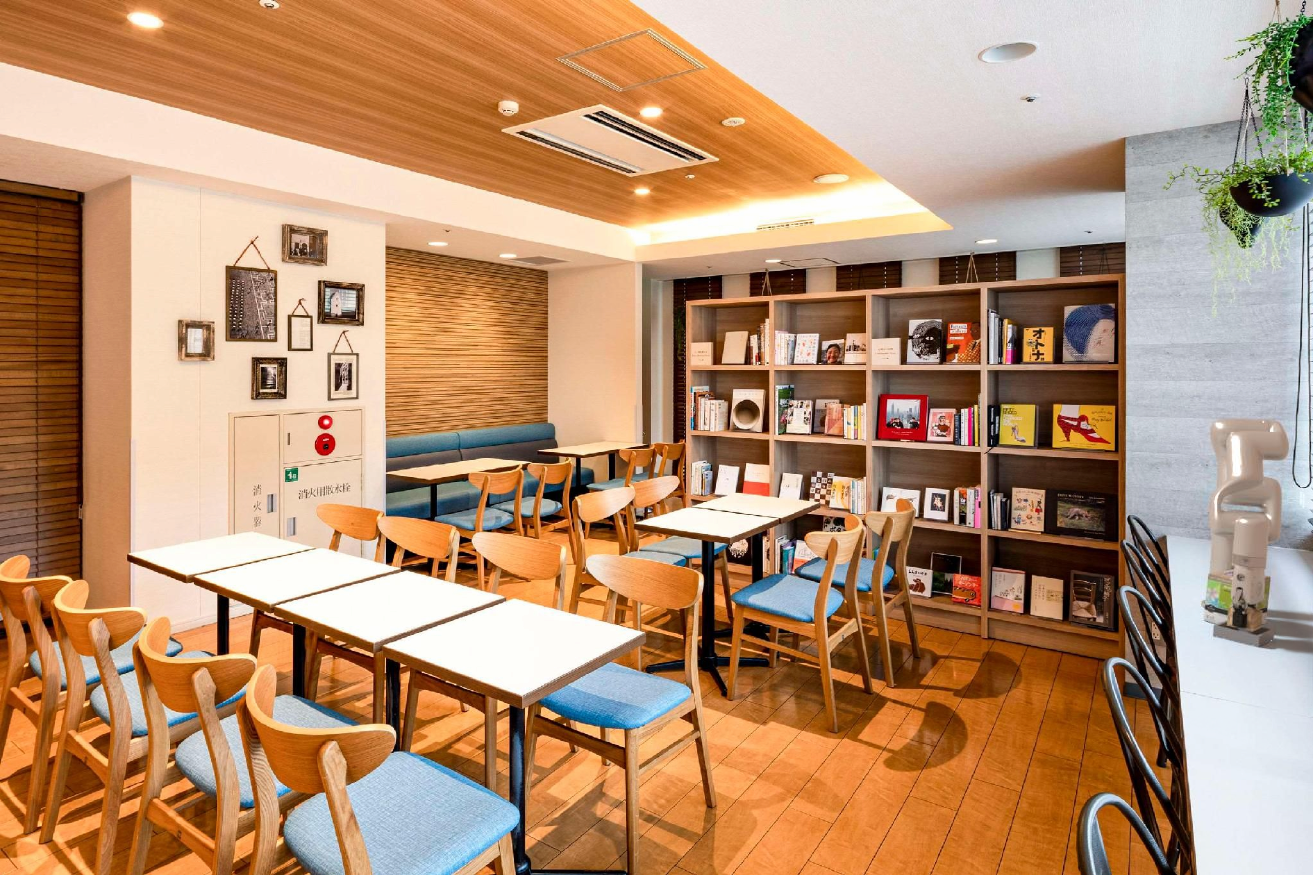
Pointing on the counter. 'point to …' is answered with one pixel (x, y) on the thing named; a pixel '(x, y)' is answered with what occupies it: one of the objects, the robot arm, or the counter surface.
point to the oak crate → (1248, 618)
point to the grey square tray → (1244, 634)
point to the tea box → (1226, 597)
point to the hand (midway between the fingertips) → (1244, 624)
